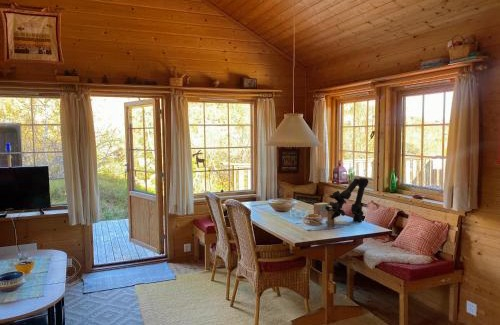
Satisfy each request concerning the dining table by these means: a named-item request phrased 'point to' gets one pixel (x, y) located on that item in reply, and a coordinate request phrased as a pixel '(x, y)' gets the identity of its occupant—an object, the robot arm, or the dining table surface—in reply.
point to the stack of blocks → (321, 209)
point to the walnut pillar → (330, 221)
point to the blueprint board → (340, 222)
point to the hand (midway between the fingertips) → (329, 218)
